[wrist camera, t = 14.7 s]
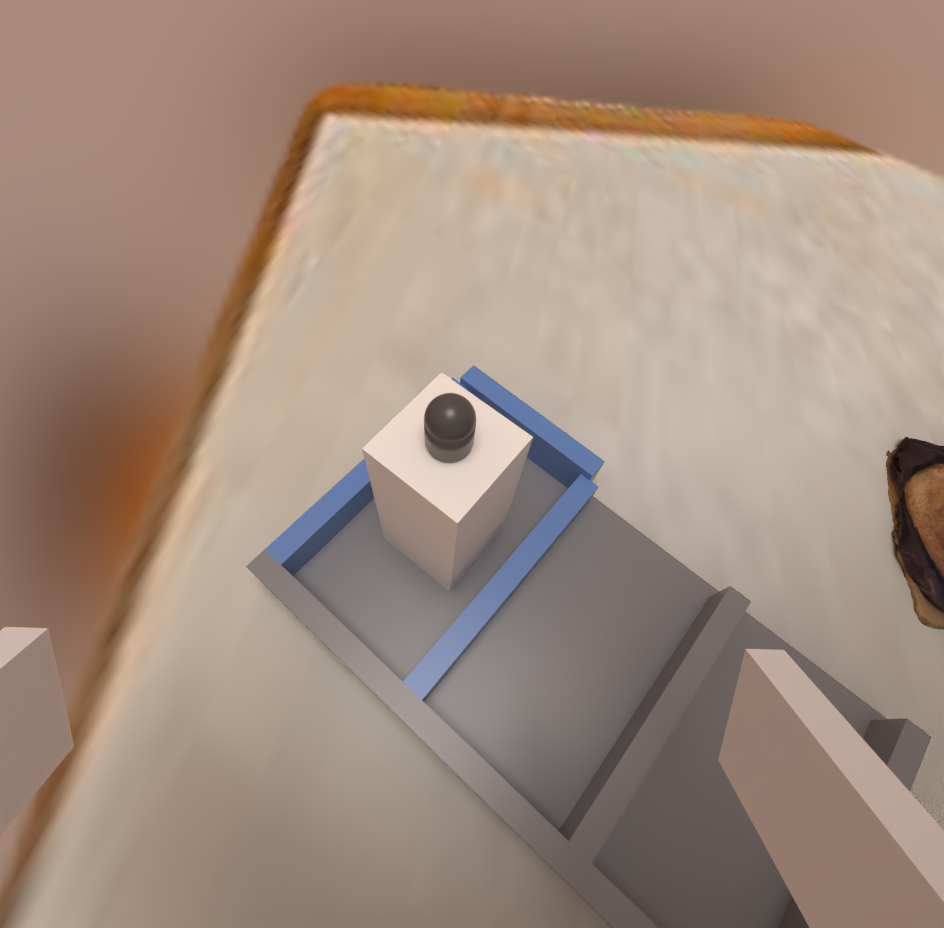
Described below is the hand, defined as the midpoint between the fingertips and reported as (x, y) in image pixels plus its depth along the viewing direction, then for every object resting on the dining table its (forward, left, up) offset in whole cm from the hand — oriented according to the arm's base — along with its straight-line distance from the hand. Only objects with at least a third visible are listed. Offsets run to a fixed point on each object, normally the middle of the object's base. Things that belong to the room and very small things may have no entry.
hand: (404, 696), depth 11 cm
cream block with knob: (-7, -5, -13) cm, 16 cm away
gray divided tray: (-6, +3, -14) cm, 16 cm away
